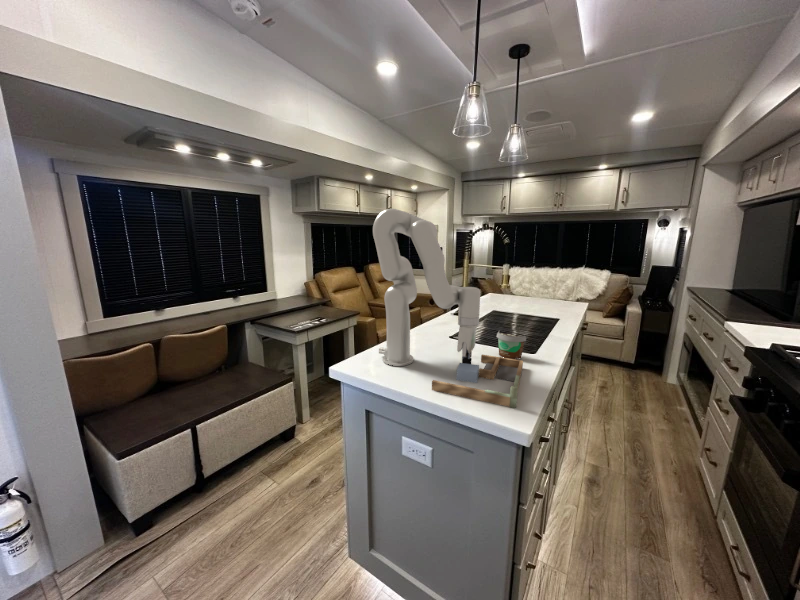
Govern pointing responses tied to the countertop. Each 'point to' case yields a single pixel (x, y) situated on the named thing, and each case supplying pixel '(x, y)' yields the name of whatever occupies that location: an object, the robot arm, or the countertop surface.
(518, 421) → the countertop surface
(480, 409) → the countertop surface
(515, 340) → the food container
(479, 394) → the box
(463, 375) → the block
